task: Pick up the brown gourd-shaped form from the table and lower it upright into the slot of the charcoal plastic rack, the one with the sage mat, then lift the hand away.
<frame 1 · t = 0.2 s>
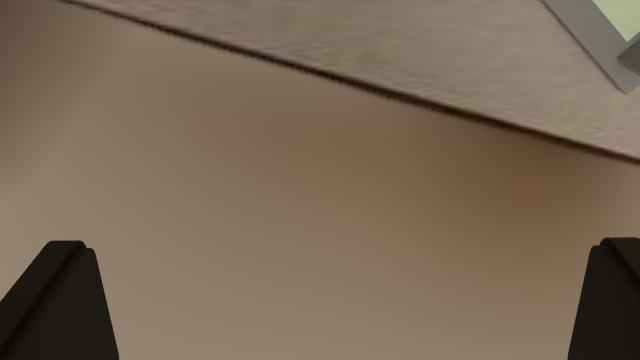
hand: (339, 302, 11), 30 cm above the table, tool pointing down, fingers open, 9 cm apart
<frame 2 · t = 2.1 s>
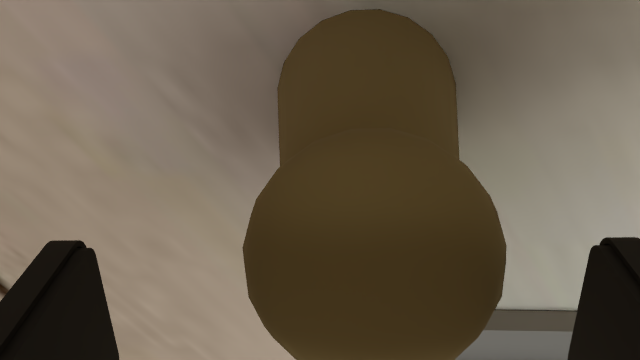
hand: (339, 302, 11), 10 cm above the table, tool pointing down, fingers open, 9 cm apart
brown gourd-shaped form: (365, 97, 20), on the table
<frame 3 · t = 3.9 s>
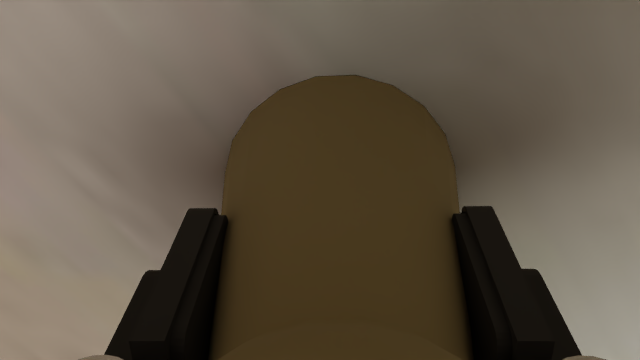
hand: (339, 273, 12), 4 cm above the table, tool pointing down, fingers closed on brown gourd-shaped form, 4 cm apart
brown gourd-shaped form: (339, 182, 16), on the table, touching gripper
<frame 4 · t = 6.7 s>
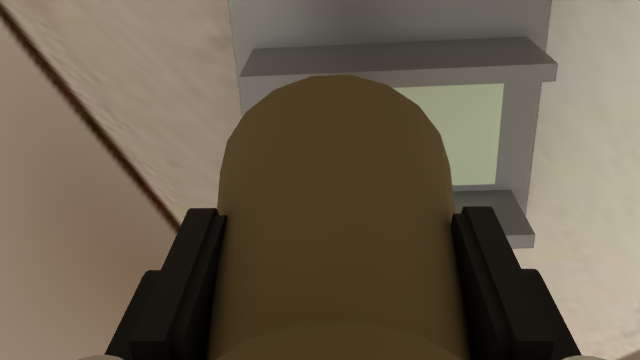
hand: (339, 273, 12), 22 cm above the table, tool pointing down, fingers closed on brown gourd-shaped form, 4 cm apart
brown gourd-shaped form: (334, 182, 16), point 18 cm above the table, touching gripper
rack: (386, 44, 32), on the table
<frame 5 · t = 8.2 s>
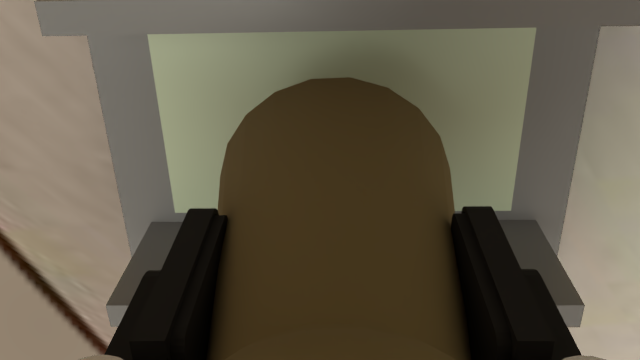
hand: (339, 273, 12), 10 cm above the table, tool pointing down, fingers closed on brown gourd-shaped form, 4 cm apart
brown gourd-shaped form: (334, 184, 16), point 6 cm above the table, touching gripper
when the fingers open (6 cm above the table, at t = 9.7 s): brown gourd-shaped form drops 1 cm, resting on rack.
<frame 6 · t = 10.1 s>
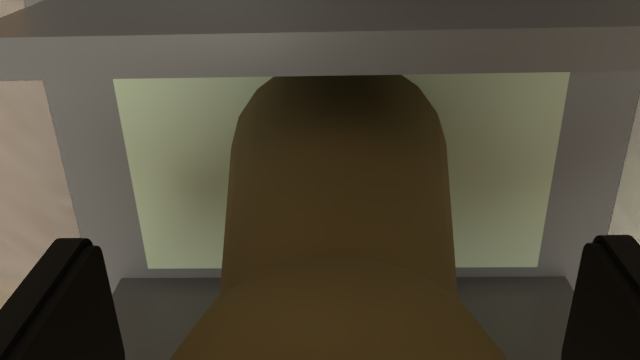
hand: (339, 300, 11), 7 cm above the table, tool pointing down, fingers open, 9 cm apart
brown gourd-shaped form: (338, 158, 17), point 1 cm above the table, touching rack
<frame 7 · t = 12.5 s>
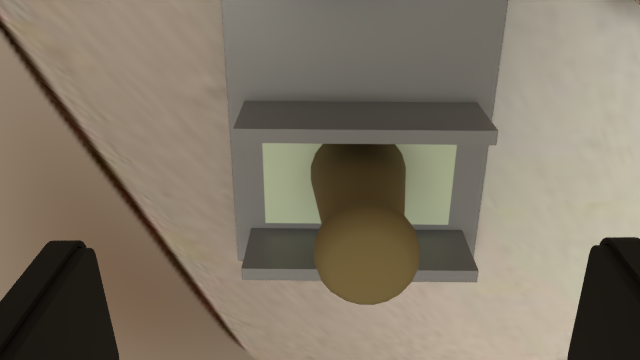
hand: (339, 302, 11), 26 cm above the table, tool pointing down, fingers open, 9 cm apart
brown gourd-shaped form: (357, 172, 38), point 1 cm above the table, touching rack
rack: (359, 101, 37), on the table
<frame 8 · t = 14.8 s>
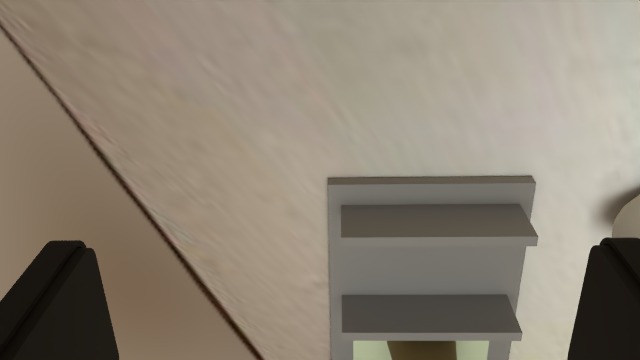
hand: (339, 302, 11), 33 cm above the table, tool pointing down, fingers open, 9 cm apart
brown gourd-shaped form: (420, 336, 53), point 1 cm above the table, touching rack
rack: (421, 289, 52), on the table
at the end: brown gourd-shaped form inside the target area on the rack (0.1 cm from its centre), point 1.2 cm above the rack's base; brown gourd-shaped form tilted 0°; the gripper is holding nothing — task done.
